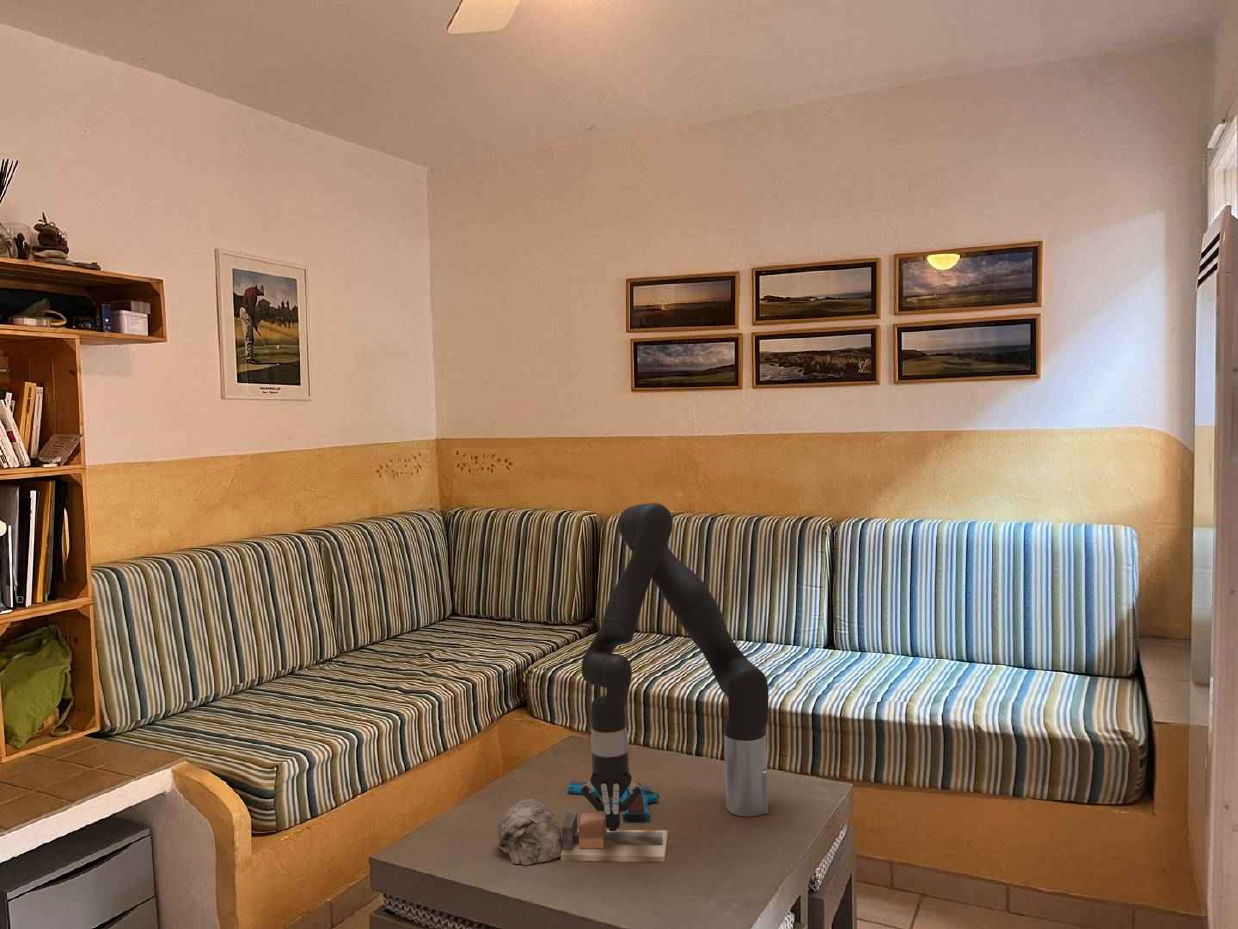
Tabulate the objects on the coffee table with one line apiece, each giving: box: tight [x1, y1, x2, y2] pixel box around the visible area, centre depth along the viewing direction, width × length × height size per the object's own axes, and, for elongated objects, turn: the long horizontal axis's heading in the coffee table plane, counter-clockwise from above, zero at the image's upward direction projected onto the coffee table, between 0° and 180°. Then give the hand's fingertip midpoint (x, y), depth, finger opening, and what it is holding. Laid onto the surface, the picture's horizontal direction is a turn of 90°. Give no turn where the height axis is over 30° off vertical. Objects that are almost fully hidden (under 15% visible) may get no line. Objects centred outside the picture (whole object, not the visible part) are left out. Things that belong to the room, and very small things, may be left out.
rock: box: [497, 798, 563, 866], centre depth 195 cm, size 15×12×10 cm
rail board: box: [560, 811, 669, 863], centre depth 195 cm, size 21×11×6 cm, turn 84°
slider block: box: [577, 812, 608, 848], centre depth 195 cm, size 5×6×5 cm
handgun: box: [567, 780, 660, 823], centre depth 215 cm, size 23×3×15 cm
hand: (613, 829), depth 195 cm, fingers closed
